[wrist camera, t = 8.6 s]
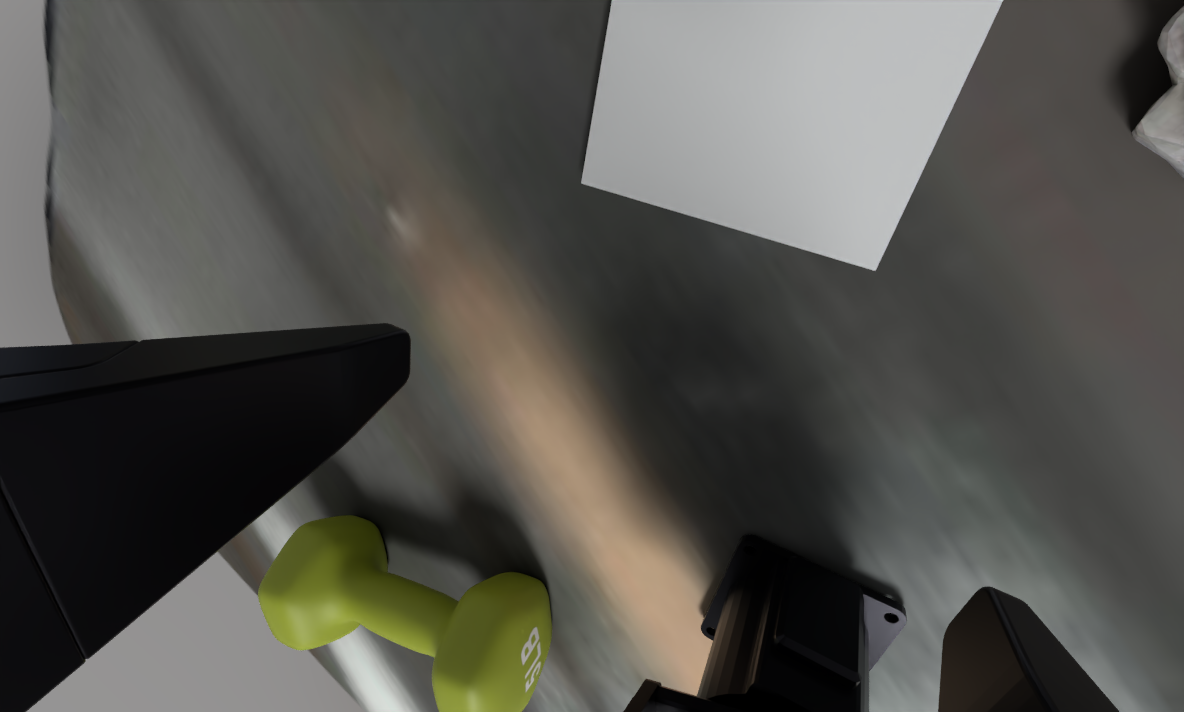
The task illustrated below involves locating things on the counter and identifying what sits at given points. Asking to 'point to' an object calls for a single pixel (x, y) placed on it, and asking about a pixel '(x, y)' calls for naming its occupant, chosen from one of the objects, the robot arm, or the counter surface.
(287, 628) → the dumbbell
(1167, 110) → the crumpled grey cloth
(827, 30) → the mat
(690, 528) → the counter surface
